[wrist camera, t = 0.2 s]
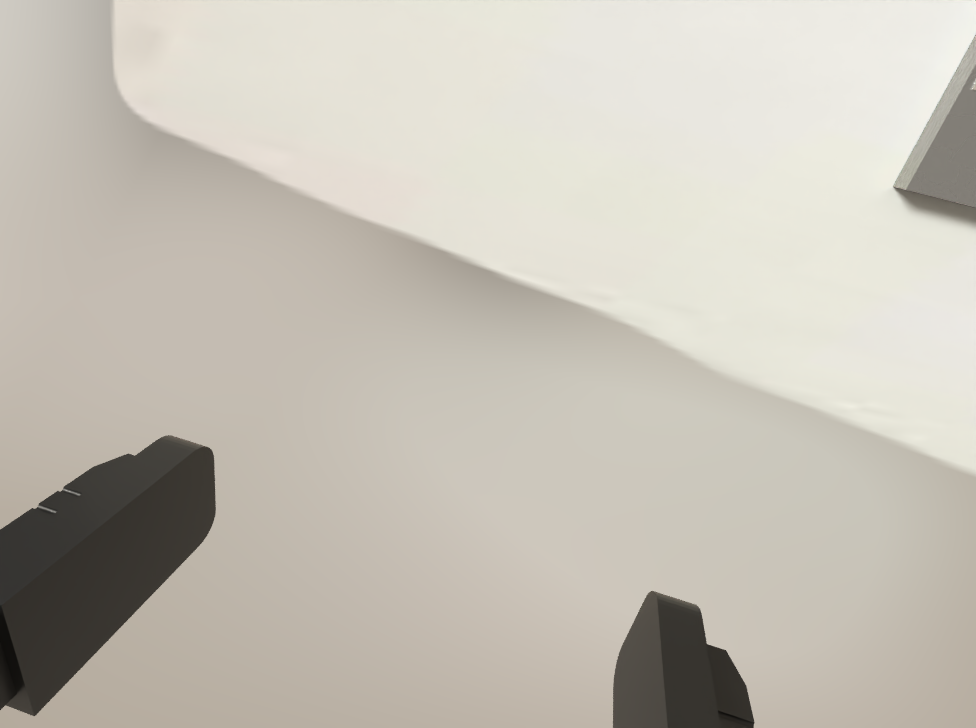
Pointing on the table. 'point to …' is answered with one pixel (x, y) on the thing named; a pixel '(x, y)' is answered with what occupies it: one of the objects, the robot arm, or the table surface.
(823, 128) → the table surface
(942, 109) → the panel
